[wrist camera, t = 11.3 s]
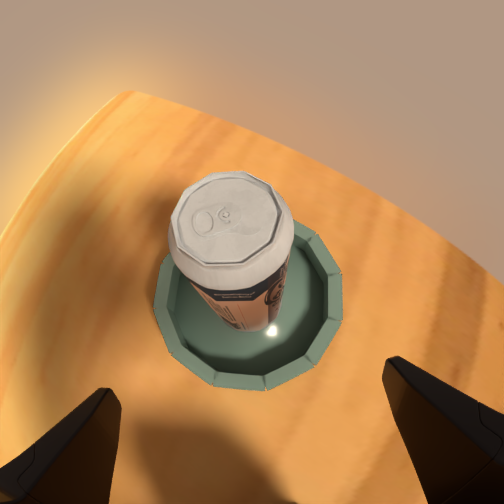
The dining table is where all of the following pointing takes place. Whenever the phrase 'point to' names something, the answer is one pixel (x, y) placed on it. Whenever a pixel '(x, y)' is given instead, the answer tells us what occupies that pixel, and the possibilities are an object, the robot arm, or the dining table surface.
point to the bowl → (263, 341)
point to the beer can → (234, 246)
